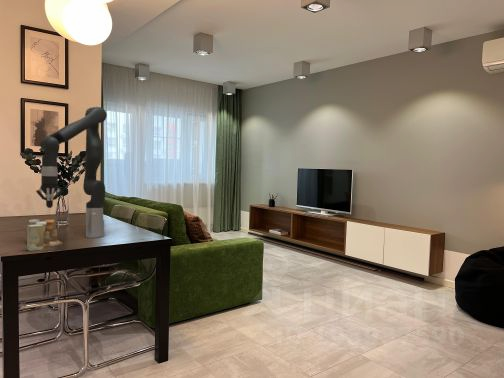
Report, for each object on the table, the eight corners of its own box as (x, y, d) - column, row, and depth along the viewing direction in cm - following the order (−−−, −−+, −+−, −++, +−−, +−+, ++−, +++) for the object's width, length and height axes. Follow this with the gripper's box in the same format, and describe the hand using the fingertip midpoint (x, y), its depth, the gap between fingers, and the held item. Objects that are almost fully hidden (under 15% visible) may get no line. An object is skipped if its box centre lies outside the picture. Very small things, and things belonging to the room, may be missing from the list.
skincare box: (29, 251, 179) (29, 226, 179) (26, 249, 182) (26, 225, 182) (44, 249, 184) (44, 225, 183) (40, 247, 187) (40, 223, 186)
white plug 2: (45, 234, 196) (45, 221, 195) (47, 236, 192) (47, 222, 192) (34, 235, 192) (34, 221, 192) (37, 237, 189) (37, 223, 188)
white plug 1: (38, 232, 202) (38, 218, 201) (40, 233, 198) (40, 220, 198) (28, 233, 199) (28, 219, 198) (30, 234, 195) (30, 220, 195)
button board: (52, 239, 208) (52, 226, 208) (62, 244, 196) (62, 231, 195) (26, 241, 199) (26, 228, 199) (34, 247, 187) (34, 234, 186)
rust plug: (53, 232, 202) (52, 219, 202) (55, 234, 199) (55, 220, 198) (43, 233, 199) (43, 220, 199) (45, 234, 196) (45, 221, 195)
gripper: (60, 175, 204) (60, 206, 205) (33, 174, 195) (33, 207, 196) (65, 175, 199) (64, 207, 200) (37, 175, 190) (37, 209, 191)
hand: (49, 207), depth 198 cm, fingers closed
